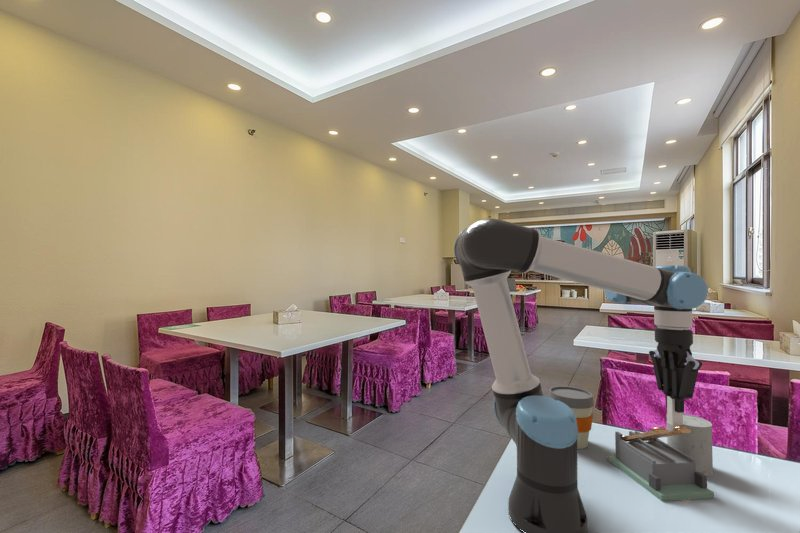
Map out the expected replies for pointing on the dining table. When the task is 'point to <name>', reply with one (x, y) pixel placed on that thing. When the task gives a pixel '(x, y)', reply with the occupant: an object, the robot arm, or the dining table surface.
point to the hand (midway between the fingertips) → (675, 423)
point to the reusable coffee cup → (577, 409)
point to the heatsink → (660, 468)
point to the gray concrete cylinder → (695, 442)
